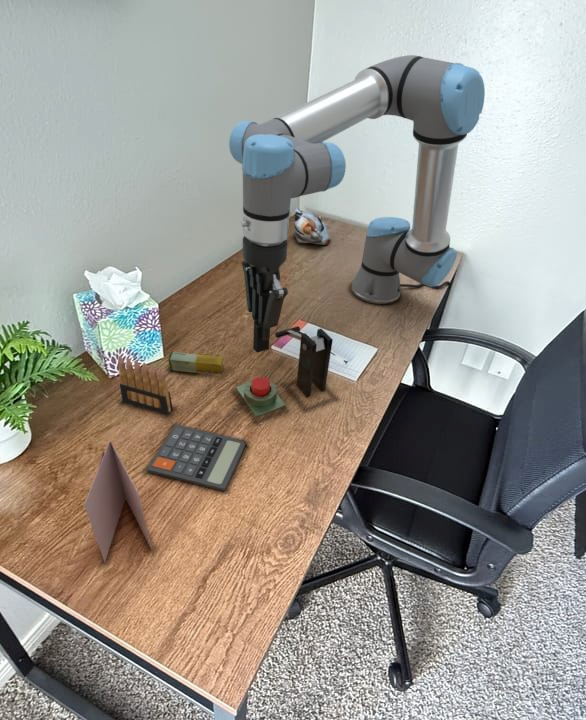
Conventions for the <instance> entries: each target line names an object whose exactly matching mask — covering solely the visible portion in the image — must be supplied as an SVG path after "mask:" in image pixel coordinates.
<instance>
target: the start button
mask: <svg viewBox="0 0 586 720" xmlns="http://www.w3.org/2000/svg"><path fill="white" fill-rule="evenodd" d="M251 380H252V382H251V392H252V393H253V394H254V395H256V396H265V395H267V394H269V392H270V381H271V380H270V379H269V378H267V377H265V376H264V377H263V376H258V377H255V378H253V379H251ZM269 380H270V381H269Z"/></svg>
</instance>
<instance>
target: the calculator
mask: <svg viewBox="0 0 586 720" xmlns="http://www.w3.org/2000/svg"><path fill="white" fill-rule="evenodd" d="M246 447H247V442H246V441H245V440H243V439H239V438H235V437H229V436H227V435H223V434H218V433H214V432H209V431H205V430H203V429H202V430H201V429H198V428H193V427H189V426H185V425H181V424H175V425H174V426H173V427H172V429H171V430H170V432H169V434H168V435H167V437H166V438H165V440H164V442H163V443H162V444H161V445H160V447H159V449H158V450H157V452H156V454H155V455H154V457H153V458H152V460H151V461H150V463H149V465H148V466H147V467H146V468H147V470H146V471H147V473H150V474H154V475H158V476H161V477H167V478H170V479H174V480H177V481H181V482H186V483H189V484H194V485H198V486H201V487H206V488H209V489H212V490H217V491H221V492H225V491H226V490H227V488H228V486H229V484H230V481H231V479H232V477H233V475H234V473H235V471H236V468H237V466H238V465H239V461H240V460H241V457H242V455H243V453H244V451H245V449H246Z"/></svg>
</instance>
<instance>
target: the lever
mask: <svg viewBox="0 0 586 720" xmlns="http://www.w3.org/2000/svg"><path fill="white" fill-rule="evenodd" d="M300 332H301V327H300V326H299V325H297V326H294V327H291V328H286V329H283V330H280V331H276V332H274V336H275V338H276V339H280V338H283V337H286V336H287V337H288V336H289V337H291V338H293V339H296V340H298V341H300V342H301V334H302V333H300ZM309 337H310V338H311V339H312V340H313V341H314V342H315V343H316V344H317V346H316V352H317V351H320V350H323V349H325V347H324V338H321V337H319V336H317V335H314V336H309Z"/></svg>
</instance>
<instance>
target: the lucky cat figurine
mask: <svg viewBox="0 0 586 720" xmlns="http://www.w3.org/2000/svg"><path fill="white" fill-rule="evenodd" d="M293 236H294V238H295V240H296V241H297V242H298V243H299V244H314V245H322V246H327V245H328V243H329V242H330V240H332V237H331V235H330V233H329V232H328V228H327V225H326V223H324V221H323V218H322V216H321V215H319V216H316V215H315V214H314V213H313V212H312V211H308V210H304V211H303V210H302V211H301V209H300V208H294V232H293Z"/></svg>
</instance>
